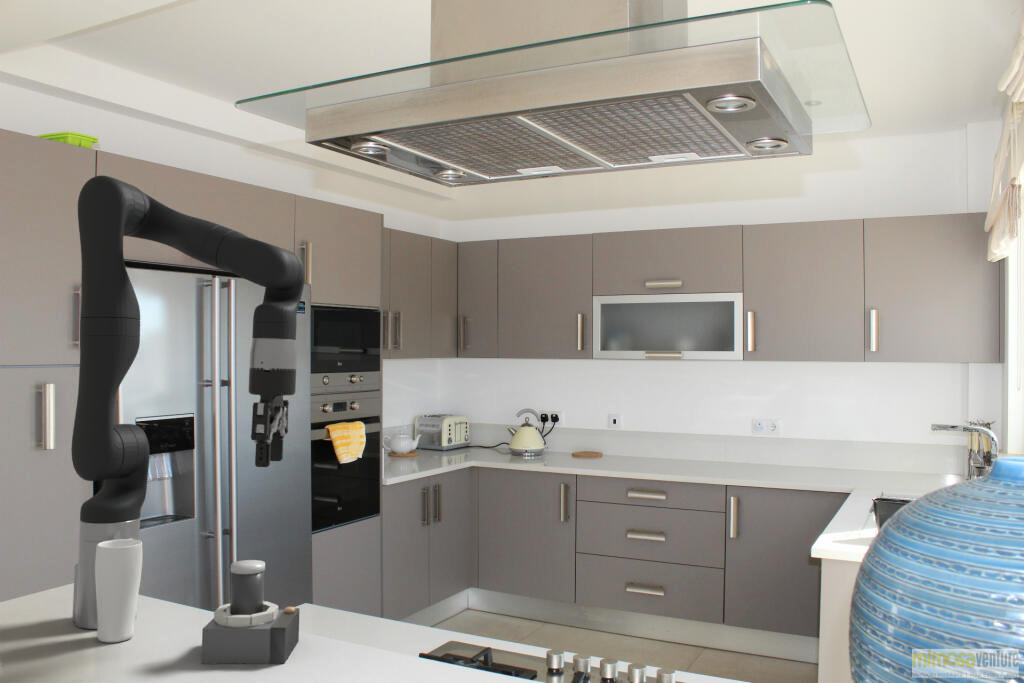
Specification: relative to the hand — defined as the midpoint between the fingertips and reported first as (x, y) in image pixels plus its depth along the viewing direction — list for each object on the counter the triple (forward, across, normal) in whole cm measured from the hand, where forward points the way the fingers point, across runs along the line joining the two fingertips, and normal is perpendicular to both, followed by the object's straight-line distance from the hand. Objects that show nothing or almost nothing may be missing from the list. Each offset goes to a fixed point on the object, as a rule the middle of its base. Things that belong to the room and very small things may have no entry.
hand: (269, 463), depth 135 cm
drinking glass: (+28, +4, -22) cm, 36 cm away
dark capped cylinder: (+22, +10, 0) cm, 24 cm away
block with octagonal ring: (+27, +10, +1) cm, 29 cm away
